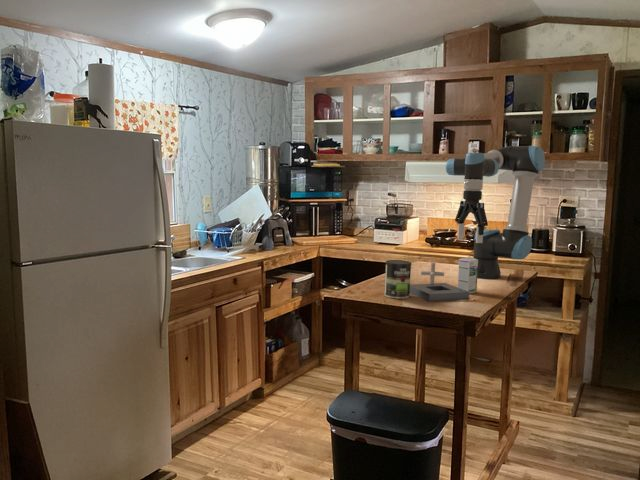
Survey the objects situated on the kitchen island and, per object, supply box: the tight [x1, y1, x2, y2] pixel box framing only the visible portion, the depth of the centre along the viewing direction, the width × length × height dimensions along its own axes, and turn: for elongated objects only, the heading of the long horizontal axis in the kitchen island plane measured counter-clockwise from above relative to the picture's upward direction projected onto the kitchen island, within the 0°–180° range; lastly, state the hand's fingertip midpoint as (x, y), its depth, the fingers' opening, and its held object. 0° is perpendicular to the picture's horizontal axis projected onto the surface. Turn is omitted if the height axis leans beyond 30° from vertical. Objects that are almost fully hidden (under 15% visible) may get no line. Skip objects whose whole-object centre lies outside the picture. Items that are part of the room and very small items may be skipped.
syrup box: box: [457, 257, 478, 294], centre depth 233 cm, size 6×6×14 cm
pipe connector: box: [420, 261, 445, 284], centre depth 247 cm, size 10×10×10 cm
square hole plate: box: [410, 282, 470, 303], centre depth 226 cm, size 18×18×3 cm
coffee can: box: [384, 259, 412, 300], centre depth 223 cm, size 10×10×14 cm
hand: (469, 240), depth 231 cm, fingers open, 13 cm apart
